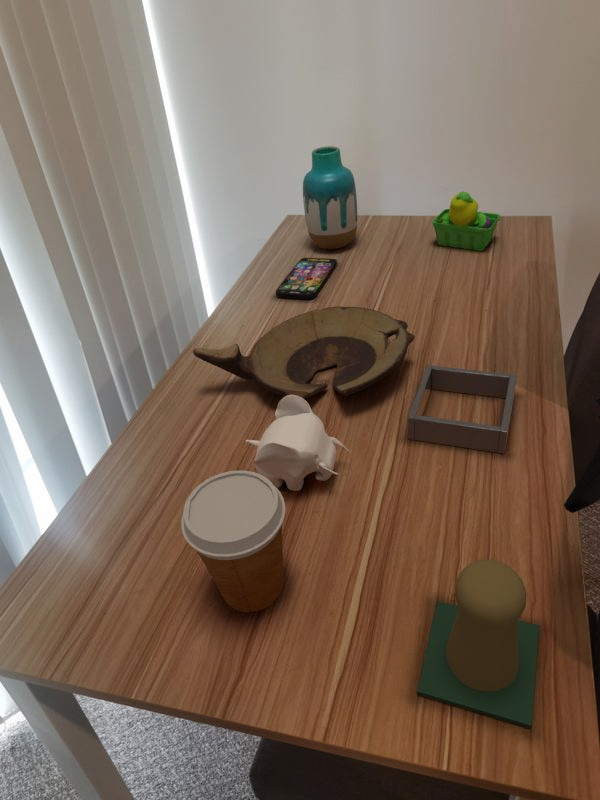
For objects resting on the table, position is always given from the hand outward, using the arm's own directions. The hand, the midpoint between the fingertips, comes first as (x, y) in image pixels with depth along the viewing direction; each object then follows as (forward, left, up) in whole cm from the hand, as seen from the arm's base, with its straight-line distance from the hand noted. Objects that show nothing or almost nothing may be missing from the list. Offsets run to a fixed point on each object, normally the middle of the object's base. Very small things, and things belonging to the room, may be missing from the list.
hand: (596, 555), depth 44 cm
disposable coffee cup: (+30, +2, -13) cm, 32 cm away
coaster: (+7, +4, -12) cm, 15 cm away
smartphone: (+48, -63, -12) cm, 80 cm away
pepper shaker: (+7, +4, -12) cm, 14 cm away
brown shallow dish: (+37, -35, -13) cm, 52 cm away
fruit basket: (+22, -82, -13) cm, 86 cm away
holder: (+14, -29, -12) cm, 34 cm away
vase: (+48, -79, -13) cm, 93 cm away
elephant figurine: (+31, -14, -13) cm, 36 cm away
